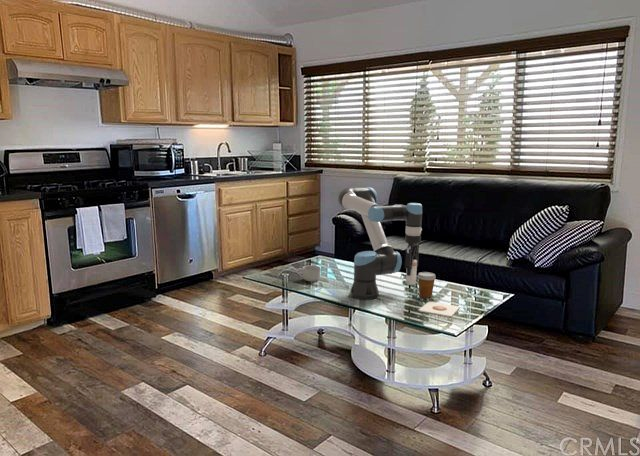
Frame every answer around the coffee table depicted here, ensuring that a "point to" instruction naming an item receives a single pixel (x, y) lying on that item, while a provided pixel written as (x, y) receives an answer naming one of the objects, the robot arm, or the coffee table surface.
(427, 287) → the disposable coffee cup
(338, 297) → the coffee table surface
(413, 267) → the plastic tube
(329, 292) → the coffee table surface
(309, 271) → the teacup
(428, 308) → the card
